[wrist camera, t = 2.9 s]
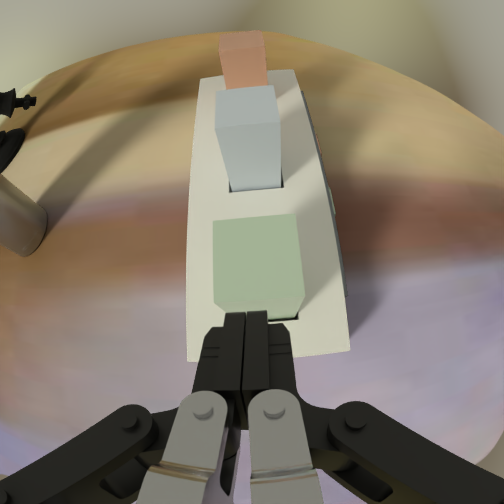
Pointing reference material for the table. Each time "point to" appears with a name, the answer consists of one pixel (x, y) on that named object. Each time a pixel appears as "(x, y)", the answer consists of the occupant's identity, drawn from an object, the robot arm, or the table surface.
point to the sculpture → (8, 144)
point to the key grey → (249, 137)
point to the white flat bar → (265, 204)
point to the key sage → (258, 265)
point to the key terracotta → (243, 59)
